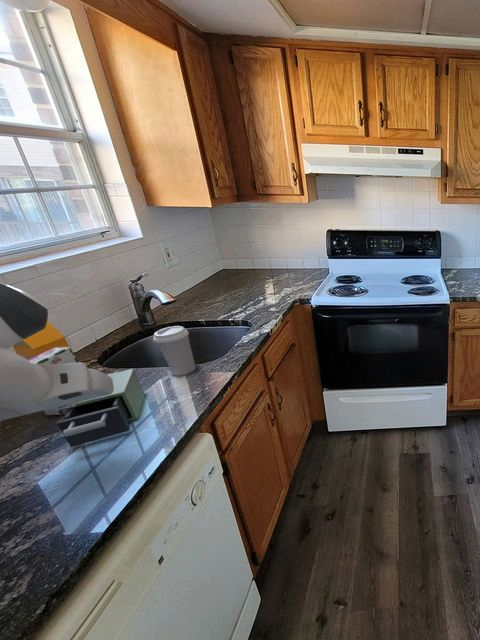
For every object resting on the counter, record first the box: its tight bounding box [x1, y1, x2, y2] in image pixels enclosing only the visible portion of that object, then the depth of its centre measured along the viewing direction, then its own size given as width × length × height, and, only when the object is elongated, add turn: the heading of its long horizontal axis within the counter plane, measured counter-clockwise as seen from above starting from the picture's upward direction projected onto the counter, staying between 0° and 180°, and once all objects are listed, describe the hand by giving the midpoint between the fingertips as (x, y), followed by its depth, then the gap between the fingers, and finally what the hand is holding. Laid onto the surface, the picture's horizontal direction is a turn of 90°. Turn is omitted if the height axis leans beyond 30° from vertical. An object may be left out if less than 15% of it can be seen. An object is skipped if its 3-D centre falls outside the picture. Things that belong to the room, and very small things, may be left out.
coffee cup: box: [152, 325, 197, 376], centre depth 121 cm, size 10×10×15 cm
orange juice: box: [12, 320, 76, 360], centre depth 116 cm, size 8×9×20 cm
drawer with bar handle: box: [56, 395, 131, 448], centre depth 94 cm, size 18×11×7 cm, turn 31°
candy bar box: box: [28, 346, 79, 416], centre depth 104 cm, size 11×5×16 cm, turn 0°
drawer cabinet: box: [62, 368, 146, 423], centre depth 101 cm, size 15×13×9 cm
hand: (66, 405), depth 81 cm, fingers closed
